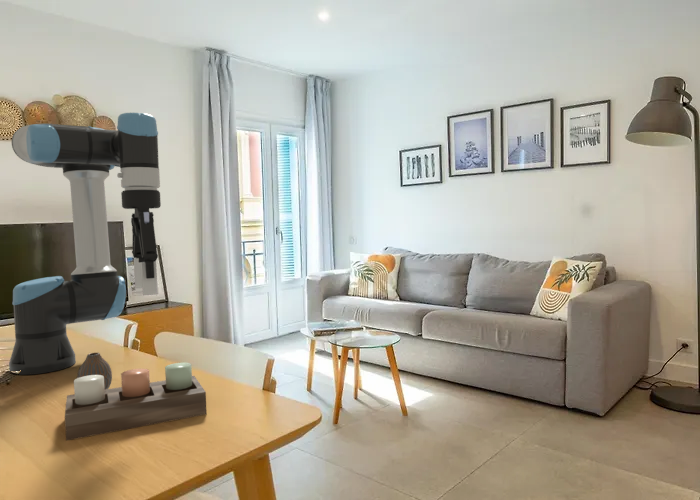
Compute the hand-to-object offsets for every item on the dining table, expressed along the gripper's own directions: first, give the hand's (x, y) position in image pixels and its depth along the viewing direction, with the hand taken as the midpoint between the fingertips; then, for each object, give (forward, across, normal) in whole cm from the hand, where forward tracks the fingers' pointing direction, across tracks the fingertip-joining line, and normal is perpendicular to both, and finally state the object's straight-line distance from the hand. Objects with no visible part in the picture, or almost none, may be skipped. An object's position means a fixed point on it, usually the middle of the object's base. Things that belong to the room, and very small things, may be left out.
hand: (145, 291), depth 110 cm
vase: (+23, -10, -10) cm, 27 cm away
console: (+23, +10, -4) cm, 25 cm away
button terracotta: (+18, +10, -4) cm, 21 cm away
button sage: (+18, +10, +4) cm, 21 cm away
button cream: (+18, +9, -12) cm, 24 cm away
